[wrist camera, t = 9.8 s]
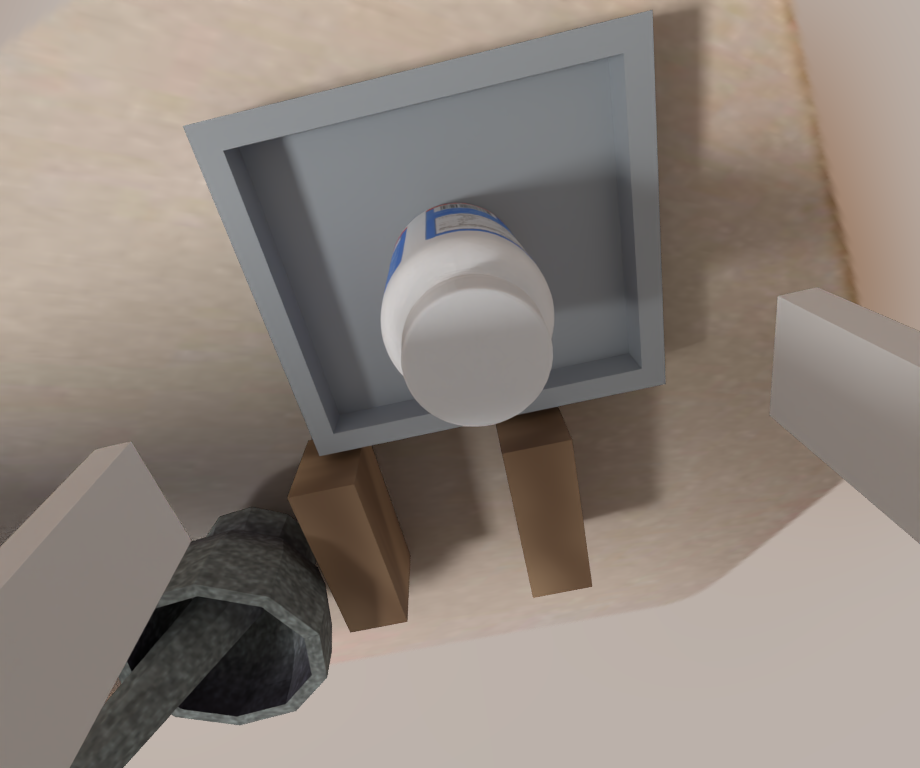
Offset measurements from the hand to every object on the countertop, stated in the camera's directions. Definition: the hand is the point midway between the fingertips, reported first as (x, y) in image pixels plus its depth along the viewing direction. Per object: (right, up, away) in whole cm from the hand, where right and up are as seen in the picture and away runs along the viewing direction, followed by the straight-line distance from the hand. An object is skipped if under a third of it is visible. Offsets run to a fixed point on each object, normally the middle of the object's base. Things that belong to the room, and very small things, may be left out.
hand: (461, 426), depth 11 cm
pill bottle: (0, +6, +12) cm, 13 cm away
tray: (0, +6, +12) cm, 14 cm away
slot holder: (-1, -5, +18) cm, 18 cm away
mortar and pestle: (-12, -9, +19) cm, 24 cm away
